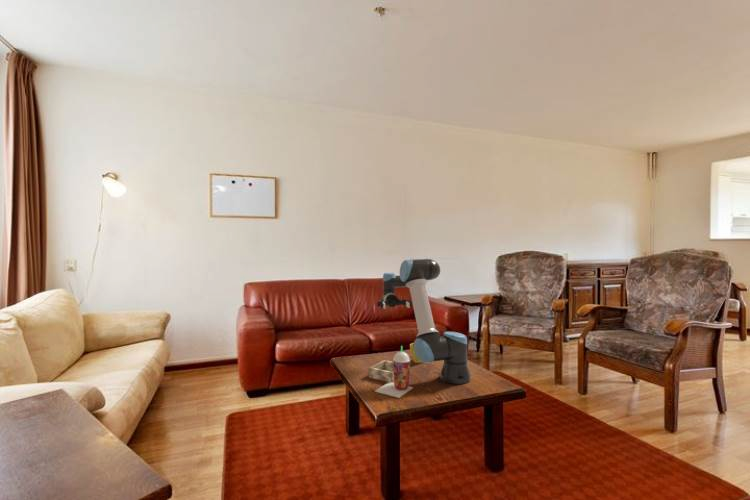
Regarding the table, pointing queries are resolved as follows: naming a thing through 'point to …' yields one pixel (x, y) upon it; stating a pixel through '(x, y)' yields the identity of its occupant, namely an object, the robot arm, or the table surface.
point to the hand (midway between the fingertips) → (396, 306)
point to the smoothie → (401, 370)
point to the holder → (382, 371)
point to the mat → (392, 390)
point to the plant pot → (414, 354)
